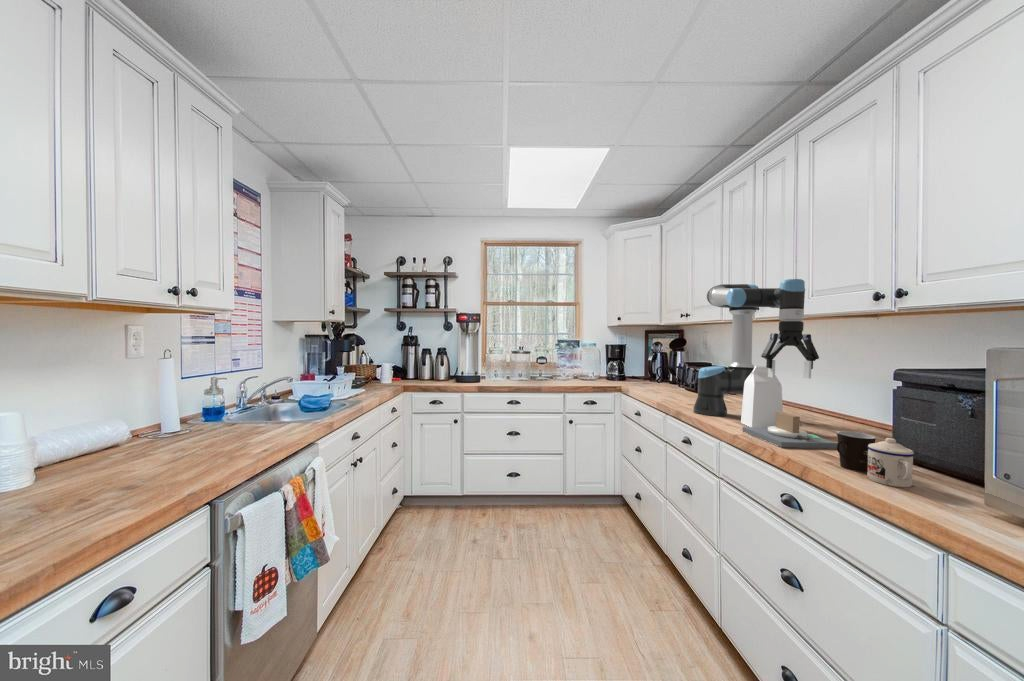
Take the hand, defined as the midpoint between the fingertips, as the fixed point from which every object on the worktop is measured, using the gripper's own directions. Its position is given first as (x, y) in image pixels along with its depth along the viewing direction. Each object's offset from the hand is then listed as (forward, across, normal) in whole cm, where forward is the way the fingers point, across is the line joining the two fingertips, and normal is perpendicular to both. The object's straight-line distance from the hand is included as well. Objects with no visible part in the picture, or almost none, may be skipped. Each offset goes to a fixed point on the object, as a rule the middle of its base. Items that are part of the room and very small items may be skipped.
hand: (789, 377), depth 146 cm
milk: (+24, +5, +22) cm, 33 cm away
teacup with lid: (+24, -3, -43) cm, 49 cm away
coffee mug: (+24, -4, -31) cm, 39 cm away
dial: (+21, 0, -2) cm, 21 cm away
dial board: (+23, 0, 0) cm, 23 cm away
